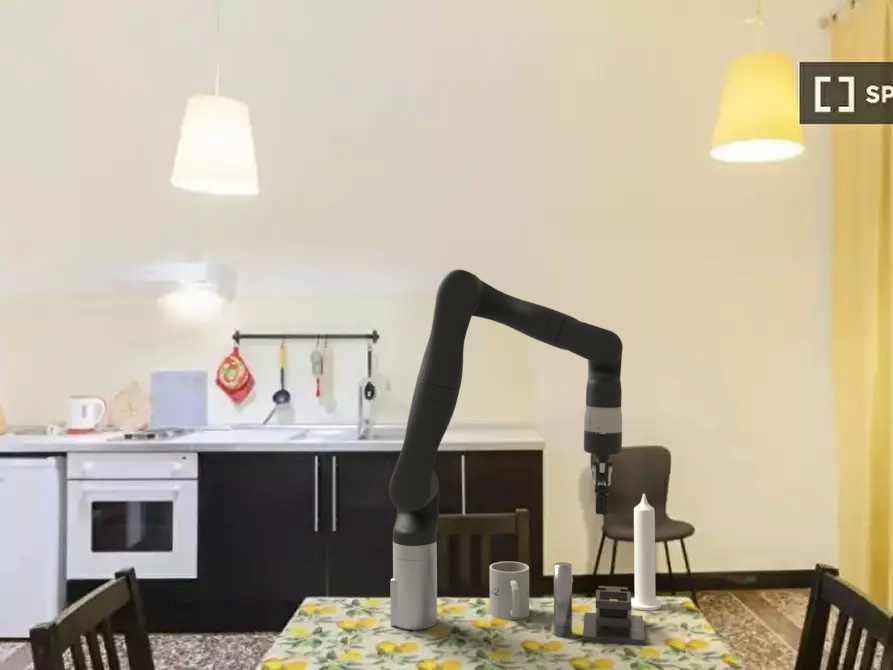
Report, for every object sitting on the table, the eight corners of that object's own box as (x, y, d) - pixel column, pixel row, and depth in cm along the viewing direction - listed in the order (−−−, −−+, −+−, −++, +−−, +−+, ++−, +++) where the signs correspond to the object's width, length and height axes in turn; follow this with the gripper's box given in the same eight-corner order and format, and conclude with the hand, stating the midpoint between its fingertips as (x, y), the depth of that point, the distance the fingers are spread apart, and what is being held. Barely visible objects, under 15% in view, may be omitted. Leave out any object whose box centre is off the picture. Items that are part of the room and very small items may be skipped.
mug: (490, 605, 178) (490, 561, 178) (529, 606, 177) (528, 561, 177) (488, 625, 166) (488, 577, 166) (529, 626, 165) (529, 578, 165)
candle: (662, 611, 173) (661, 497, 174) (629, 609, 175) (628, 496, 175) (660, 601, 180) (659, 491, 181) (628, 599, 182) (627, 490, 182)
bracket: (582, 640, 157) (582, 604, 157) (584, 617, 170) (584, 583, 170) (645, 645, 154) (645, 608, 154) (642, 620, 168) (642, 586, 168)
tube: (553, 636, 159) (553, 566, 159) (554, 630, 162) (554, 561, 163) (572, 638, 158) (572, 567, 158) (573, 631, 162) (573, 562, 162)
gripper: (585, 424, 168) (583, 501, 168) (583, 432, 154) (581, 515, 154) (621, 426, 166) (619, 503, 166) (622, 433, 152) (621, 518, 152)
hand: (601, 509), depth 160 cm, fingers open, 8 cm apart
